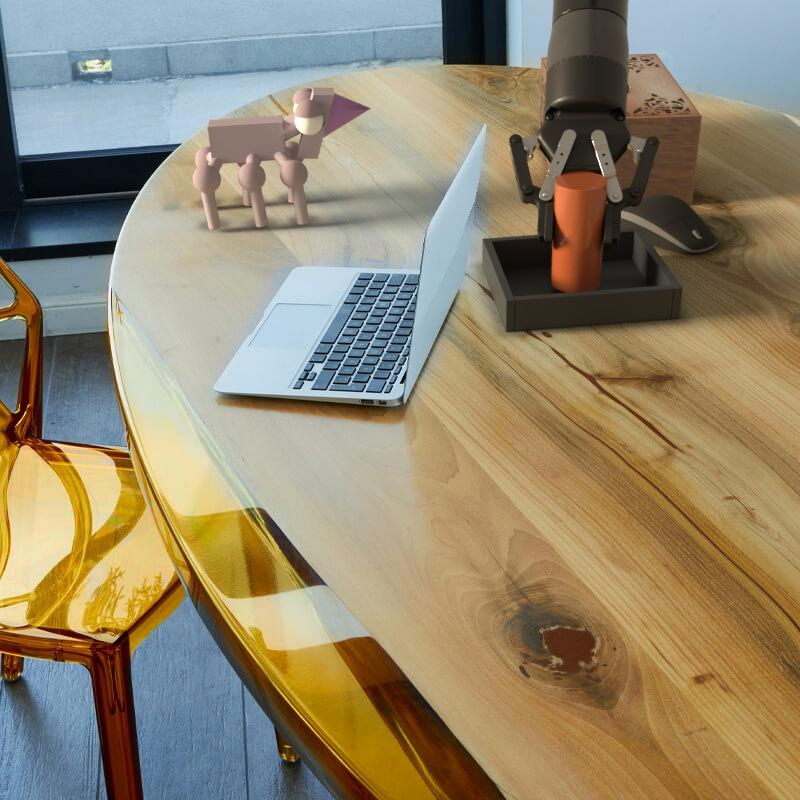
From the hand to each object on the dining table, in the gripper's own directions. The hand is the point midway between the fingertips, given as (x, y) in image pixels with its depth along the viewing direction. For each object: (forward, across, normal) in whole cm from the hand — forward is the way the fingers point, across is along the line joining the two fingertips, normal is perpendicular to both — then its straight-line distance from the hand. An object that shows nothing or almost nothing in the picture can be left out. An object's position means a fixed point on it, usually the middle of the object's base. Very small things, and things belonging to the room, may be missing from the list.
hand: (578, 245), depth 97 cm
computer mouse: (-7, +9, +16) cm, 20 cm away
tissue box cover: (-22, +3, +31) cm, 38 cm away
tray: (+3, 0, +6) cm, 6 cm away
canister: (+2, 0, +5) cm, 5 cm away
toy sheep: (-10, -32, +19) cm, 39 cm away
